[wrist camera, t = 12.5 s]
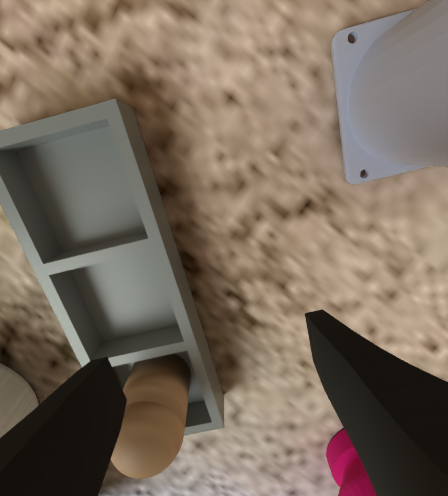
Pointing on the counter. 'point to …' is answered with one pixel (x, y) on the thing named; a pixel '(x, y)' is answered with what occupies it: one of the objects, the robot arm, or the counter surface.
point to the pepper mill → (348, 467)
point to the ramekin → (14, 399)
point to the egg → (153, 416)
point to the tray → (106, 246)
